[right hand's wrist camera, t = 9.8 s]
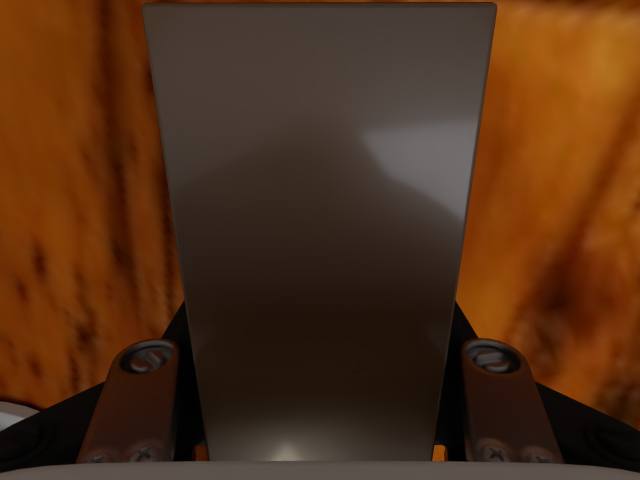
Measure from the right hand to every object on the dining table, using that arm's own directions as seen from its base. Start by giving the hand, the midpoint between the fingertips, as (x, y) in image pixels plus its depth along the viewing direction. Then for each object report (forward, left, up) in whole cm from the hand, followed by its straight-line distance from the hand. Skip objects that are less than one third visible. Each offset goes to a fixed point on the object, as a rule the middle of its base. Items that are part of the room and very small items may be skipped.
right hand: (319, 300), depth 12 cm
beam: (+24, -11, -2) cm, 26 cm away
